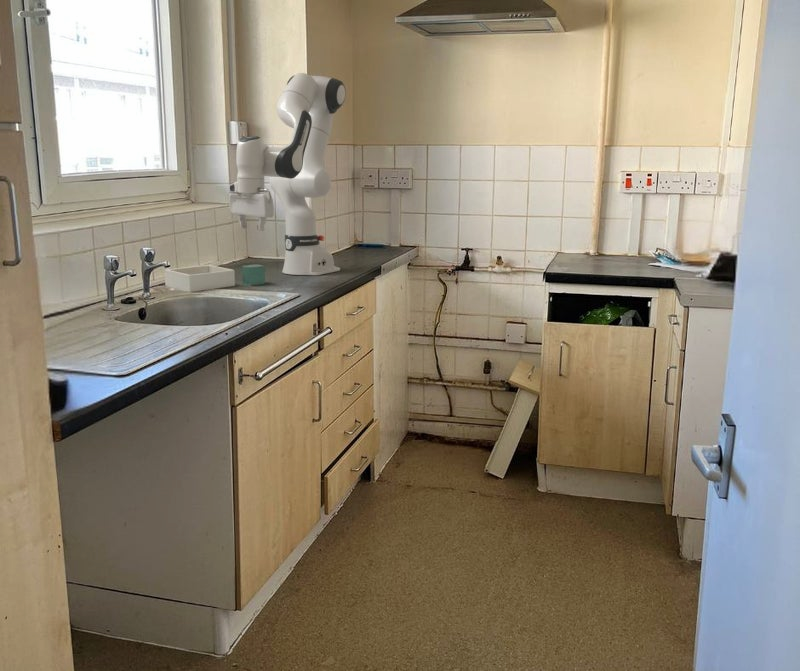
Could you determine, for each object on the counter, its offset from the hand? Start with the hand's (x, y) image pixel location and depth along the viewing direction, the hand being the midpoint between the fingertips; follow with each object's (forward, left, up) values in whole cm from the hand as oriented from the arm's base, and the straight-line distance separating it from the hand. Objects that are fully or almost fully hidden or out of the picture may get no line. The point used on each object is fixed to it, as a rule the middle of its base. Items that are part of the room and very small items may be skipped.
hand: (252, 229), depth 263 cm
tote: (+15, -9, -19) cm, 26 cm away
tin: (0, 0, -19) cm, 19 cm away
